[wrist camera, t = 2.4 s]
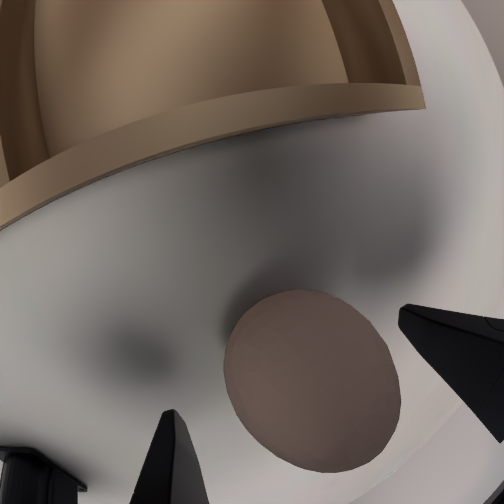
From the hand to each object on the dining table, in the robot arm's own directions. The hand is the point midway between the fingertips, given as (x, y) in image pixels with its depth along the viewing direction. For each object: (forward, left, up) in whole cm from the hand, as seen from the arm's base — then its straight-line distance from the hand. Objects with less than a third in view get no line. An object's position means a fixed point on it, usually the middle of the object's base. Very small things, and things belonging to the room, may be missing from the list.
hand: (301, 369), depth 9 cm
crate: (-4, +14, -3) cm, 15 cm away
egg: (0, 0, -3) cm, 3 cm away
